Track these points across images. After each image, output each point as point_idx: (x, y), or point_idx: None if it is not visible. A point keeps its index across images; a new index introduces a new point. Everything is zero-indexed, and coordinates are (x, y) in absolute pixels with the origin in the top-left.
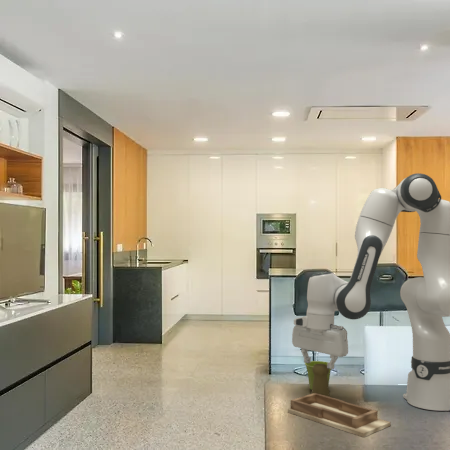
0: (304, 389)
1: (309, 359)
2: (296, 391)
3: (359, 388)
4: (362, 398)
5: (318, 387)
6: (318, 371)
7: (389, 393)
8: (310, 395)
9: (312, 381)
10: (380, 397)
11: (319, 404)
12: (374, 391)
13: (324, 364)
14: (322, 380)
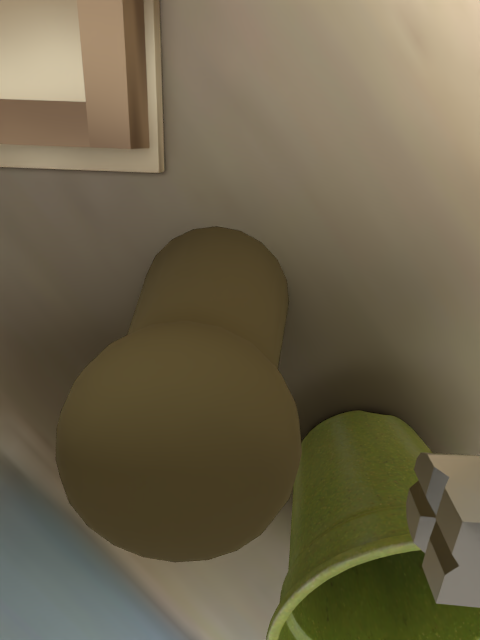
0: (441, 401)
1: (430, 541)
2: (466, 321)
3: (190, 615)
4: (48, 489)
5: (176, 274)
6: (132, 341)
7: (29, 635)
8: (91, 18)
9: (388, 447)
10: (4, 562)
11: (54, 90)
12: (100, 619)
13: (138, 538)
14: (134, 331)
